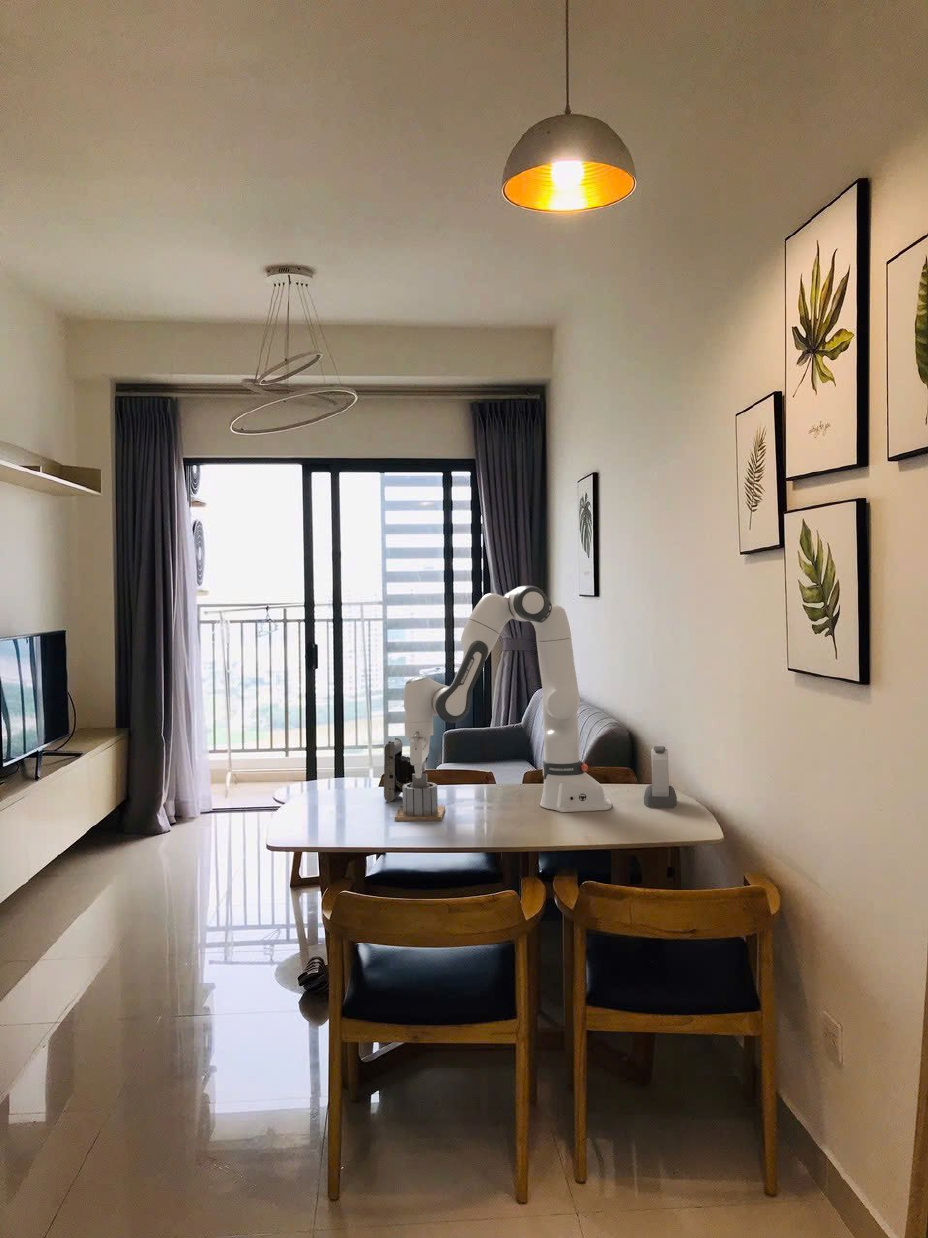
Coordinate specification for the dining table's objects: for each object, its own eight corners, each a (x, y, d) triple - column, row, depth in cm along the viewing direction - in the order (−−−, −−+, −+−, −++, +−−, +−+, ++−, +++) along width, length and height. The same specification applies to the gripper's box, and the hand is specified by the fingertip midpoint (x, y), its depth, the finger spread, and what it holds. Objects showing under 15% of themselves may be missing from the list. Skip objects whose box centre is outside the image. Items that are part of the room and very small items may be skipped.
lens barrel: (445, 809, 278) (444, 780, 278) (441, 821, 264) (440, 790, 264) (401, 810, 279) (400, 781, 279) (394, 821, 265) (394, 790, 265)
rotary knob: (430, 789, 274) (430, 772, 274) (428, 794, 268) (428, 776, 268) (411, 789, 275) (411, 772, 275) (409, 794, 269) (408, 776, 269)
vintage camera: (428, 804, 288) (429, 743, 287) (382, 801, 291) (384, 741, 291) (435, 798, 297) (436, 739, 297) (391, 796, 300) (392, 737, 300)
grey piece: (644, 797, 290) (643, 742, 290) (676, 798, 288) (675, 742, 287) (643, 809, 274) (642, 750, 274) (677, 810, 272) (676, 751, 272)
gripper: (425, 734, 261) (427, 781, 261) (432, 724, 281) (433, 768, 281) (404, 735, 261) (405, 781, 261) (412, 725, 282) (414, 768, 282)
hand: (420, 774), depth 272 cm, fingers open, 8 cm apart
